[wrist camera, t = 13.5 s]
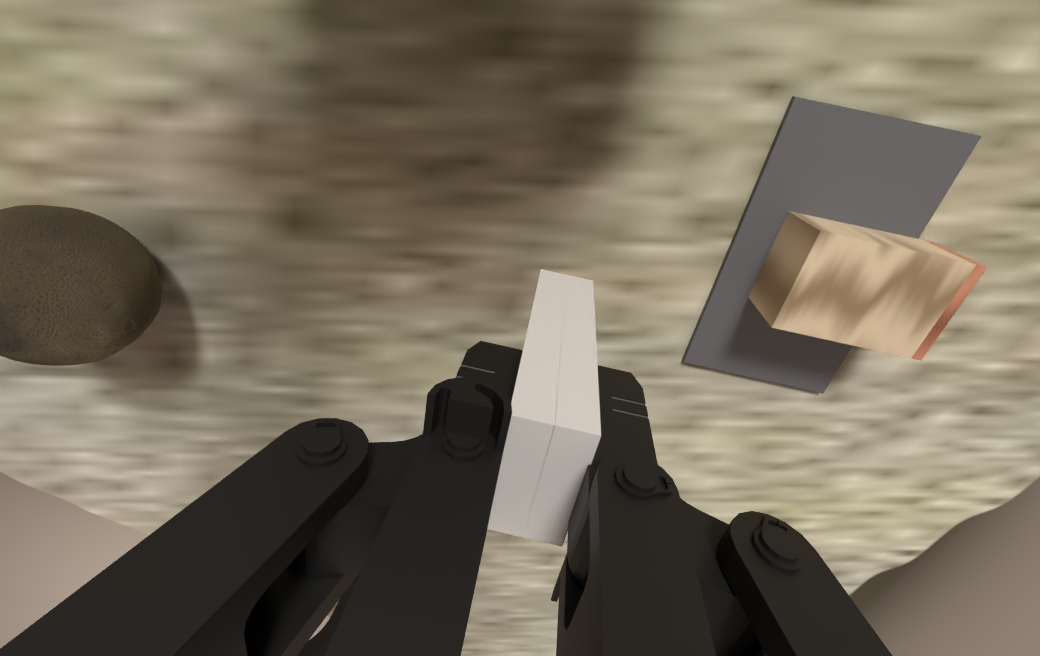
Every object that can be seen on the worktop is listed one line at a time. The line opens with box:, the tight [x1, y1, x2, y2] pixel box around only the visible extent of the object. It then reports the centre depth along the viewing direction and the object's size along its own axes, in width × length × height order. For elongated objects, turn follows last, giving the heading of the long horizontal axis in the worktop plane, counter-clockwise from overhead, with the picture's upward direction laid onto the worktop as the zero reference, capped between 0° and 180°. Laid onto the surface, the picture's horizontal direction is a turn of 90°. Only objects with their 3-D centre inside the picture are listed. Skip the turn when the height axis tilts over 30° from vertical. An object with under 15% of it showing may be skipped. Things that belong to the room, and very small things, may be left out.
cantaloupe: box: [0, 205, 162, 366], centre depth 42 cm, size 14×14×15 cm
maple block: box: [748, 211, 987, 360], centre depth 38 cm, size 8×6×12 cm
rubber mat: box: [682, 97, 981, 393], centre depth 41 cm, size 24×14×1 cm, turn 169°
